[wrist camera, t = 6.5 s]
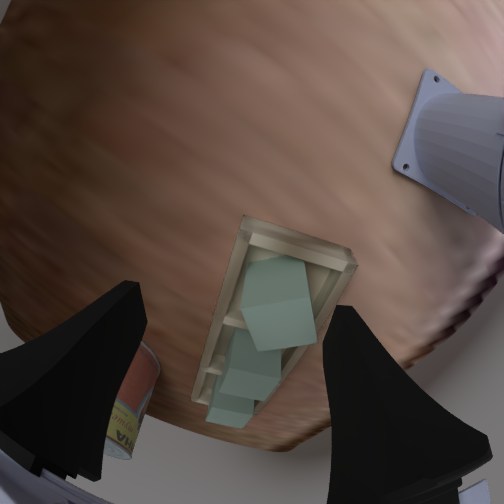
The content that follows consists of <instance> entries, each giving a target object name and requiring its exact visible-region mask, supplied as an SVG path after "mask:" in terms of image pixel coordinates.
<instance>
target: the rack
mask: <svg viewBox="0 0 504 504" xmlns="http://www.w3.org/2000/svg"><path fill="white" fill-rule="evenodd" d="M284 255H289V256H292V257H295V258H299V259H302V260H304V263H305V268H306V273H307V279H308V284H309V289H310V295H311V301H312V308H313V314H314V321H315V328H316V334H317V333H318V331H319V330H320V328H321V327H322V325H323V323H324V322H325V320H326V319H327V317H328V316H329V314H330V312H331V311H332V309H333V308H334V306H335V304H336V303H337V301H338V299H339V298H340V296H341V294H342V293H343V291H344V289H345V288H346V286H347V284H348V283H349V281H350V279H351V277H352V276H353V274H354V272H355V270H356V269H357V267H358V264H357V262H356V260H355V257H354V255H353V253H352V251H351V249H348V248H345V247H342V246H339V245H337V244H334V243H331V242H327V241H324V240H321V239H318V238H315V237H312V236H309V235H306V234H303V233H300V232H297V231H294V230H290V229H287V228H284V227H281V226H278V225H274V224H271V223H268V222H265V221H261V220H258V219H255V218H252V217H248V216H245V215H243V219H242V222H241V225H240V228H239V232H238V235H237V238H236V242H235V245H234V248H233V251H232V255H231V258H230V261H229V265H228V268H227V271H226V275H225V278H224V282H223V285H222V288H221V292H220V295H219V299H218V302H217V306H216V309H215V312H214V316H213V319H212V323H211V326H210V330H209V333H208V337H207V341H206V344H205V348H204V351H203V355H202V358H201V362H200V366H199V369H198V373H197V377H196V380H195V384H194V388H193V392H192V396H191V401H194V402H198V403H202V404H206V405H209V401H210V396H211V391H212V386H213V383H214V380H215V378H216V375H221V376H222V371H223V366H224V360H225V355H226V349H227V346H228V344H229V341H230V338H231V336H232V333H233V331H234V328H235V327H238V328H242V329H245V330H249V329H248V327H247V324H246V322H245V319H244V317H243V314H242V312H241V309H240V307H241V301H242V295H243V288H244V282H245V276H246V270H247V264H248V262H253V261H259V260H264V259H269V258H274V257H279V256H284ZM309 345H310V344H308V345H302V346H295V347H289V348H282V349H281V379H280V381H279V382H278V384H277V385H276V386H275V388H274V389H273V390H272V392H271V393H270V394H269V396H268V397H267V398H266V400H265V401H259V400H254V411H253V415H257V414H258V413H259V412H260V411H261V409H262V408H263V407H264V406H265V404H266V403H267V402H268V401H269V399H270V398H271V397H272V395H273V394H274V393H275V392H276V390H277V389H278V388H279V386H280V385H281V384H282V382H283V381H284V380H285V378H286V377H287V376H288V374H289V373H290V372H291V370H292V369H293V367H294V366H295V365H296V363H297V362H298V360H299V359H300V358H301V356H302V355H303V353H304V352H305V350H306V349H307V348H308V346H309Z"/></svg>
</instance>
